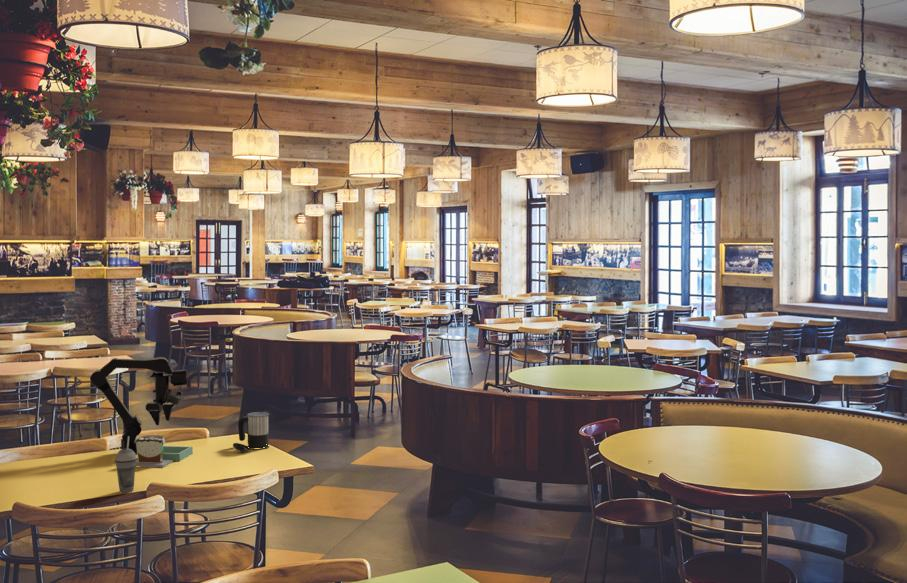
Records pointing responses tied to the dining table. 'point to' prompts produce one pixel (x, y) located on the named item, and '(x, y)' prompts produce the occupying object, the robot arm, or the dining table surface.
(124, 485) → the beverage cup
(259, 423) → the milk frother
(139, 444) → the food container
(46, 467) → the dining table surface
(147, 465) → the slate tile
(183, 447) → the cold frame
